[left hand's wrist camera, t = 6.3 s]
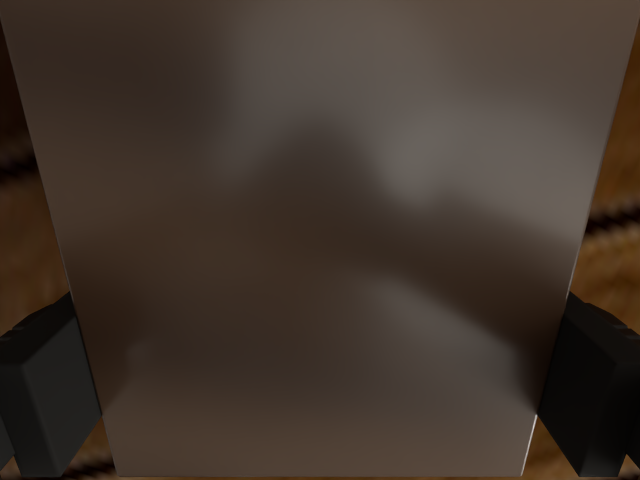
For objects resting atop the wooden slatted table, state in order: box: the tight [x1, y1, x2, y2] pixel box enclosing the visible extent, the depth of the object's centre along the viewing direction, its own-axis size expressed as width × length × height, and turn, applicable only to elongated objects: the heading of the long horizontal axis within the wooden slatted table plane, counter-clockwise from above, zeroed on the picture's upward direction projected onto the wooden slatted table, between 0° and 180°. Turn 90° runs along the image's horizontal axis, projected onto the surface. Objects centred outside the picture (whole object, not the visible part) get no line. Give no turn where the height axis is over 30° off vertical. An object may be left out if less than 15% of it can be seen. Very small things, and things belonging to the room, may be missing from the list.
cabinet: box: [0, 0, 640, 477], centre depth 11 cm, size 18×10×10 cm, turn 0°
